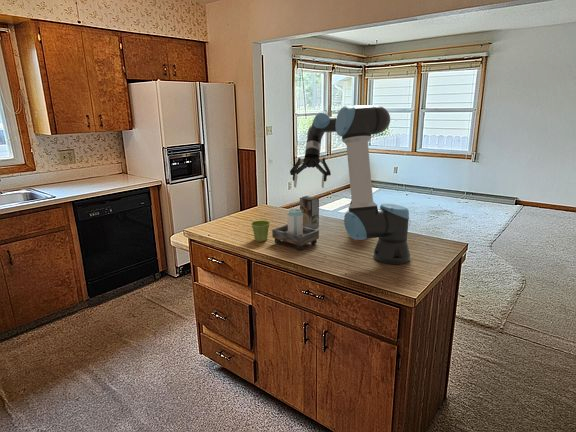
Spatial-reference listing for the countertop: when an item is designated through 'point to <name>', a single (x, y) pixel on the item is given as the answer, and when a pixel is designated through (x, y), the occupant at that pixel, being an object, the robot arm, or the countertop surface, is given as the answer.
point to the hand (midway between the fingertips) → (308, 186)
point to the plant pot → (260, 230)
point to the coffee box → (310, 211)
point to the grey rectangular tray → (295, 236)
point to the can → (295, 222)
